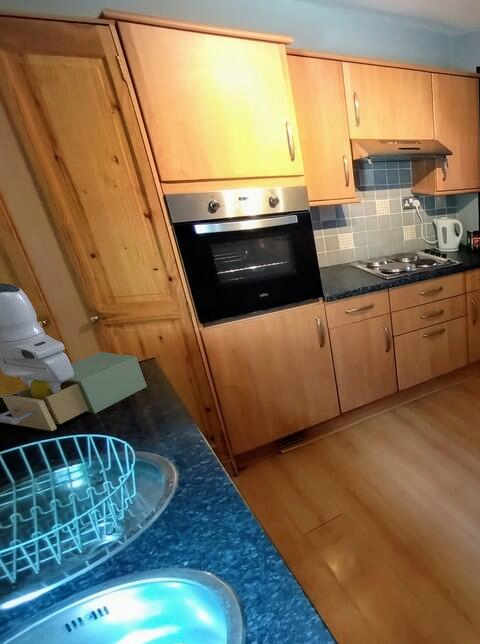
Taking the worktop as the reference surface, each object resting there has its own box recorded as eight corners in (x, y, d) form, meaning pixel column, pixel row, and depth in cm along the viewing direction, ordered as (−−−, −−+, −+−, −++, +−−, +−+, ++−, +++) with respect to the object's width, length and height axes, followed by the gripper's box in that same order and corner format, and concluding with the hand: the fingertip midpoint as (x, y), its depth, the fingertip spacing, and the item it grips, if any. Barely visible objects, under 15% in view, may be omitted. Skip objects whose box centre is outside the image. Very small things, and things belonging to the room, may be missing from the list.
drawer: (29, 442, 114) (13, 413, 110) (-7, 435, 116) (-24, 406, 113) (108, 402, 131) (97, 375, 127) (75, 397, 134) (63, 371, 130)
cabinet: (94, 413, 127) (80, 380, 123) (58, 407, 130) (42, 375, 126) (147, 386, 141) (136, 356, 137) (112, 381, 144) (100, 351, 140)
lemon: (32, 405, 121) (19, 379, 118) (55, 395, 126) (43, 370, 123) (47, 408, 120) (34, 382, 116) (70, 397, 125) (59, 372, 121)
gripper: (-21, 346, 115) (4, 393, 121) (40, 354, 111) (62, 402, 117) (9, 337, 121) (31, 382, 126) (68, 344, 117) (88, 390, 122)
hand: (47, 392), depth 121 cm, fingers closed on lemon, 5 cm apart
